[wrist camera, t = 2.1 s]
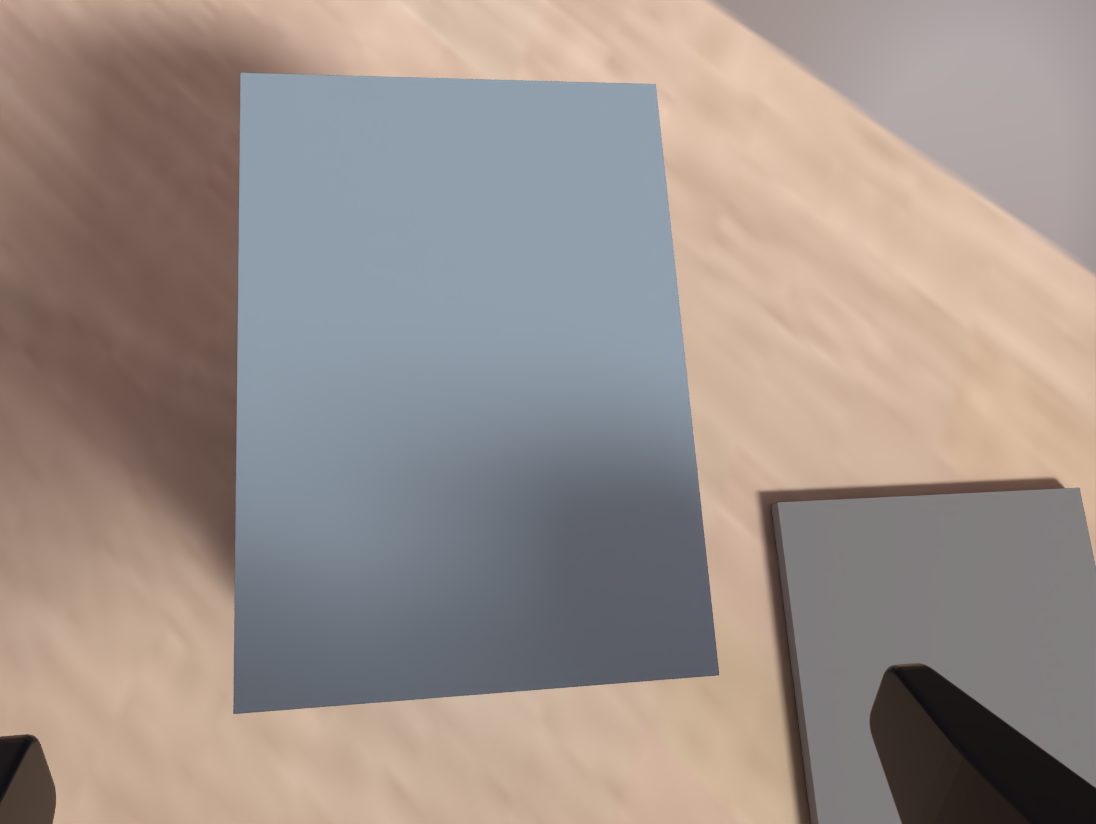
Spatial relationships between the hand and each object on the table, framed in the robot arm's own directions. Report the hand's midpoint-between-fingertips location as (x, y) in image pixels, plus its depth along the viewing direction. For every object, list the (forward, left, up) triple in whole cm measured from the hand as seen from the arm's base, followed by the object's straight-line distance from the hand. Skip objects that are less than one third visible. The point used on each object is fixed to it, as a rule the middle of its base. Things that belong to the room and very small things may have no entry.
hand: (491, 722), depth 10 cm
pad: (+10, -6, -11) cm, 16 cm away
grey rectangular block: (+2, +4, -11) cm, 12 cm away
